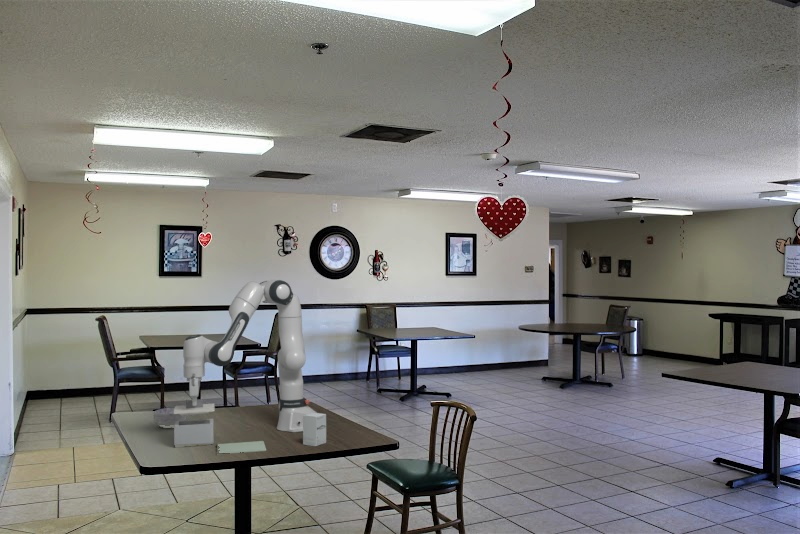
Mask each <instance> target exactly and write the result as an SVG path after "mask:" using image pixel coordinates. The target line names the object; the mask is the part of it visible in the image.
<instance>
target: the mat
mask: <svg viewBox="0 0 800 534" xmlns="http://www.w3.org/2000/svg"><path fill="white" fill-rule="evenodd" d="M217 444H218V446H219V447H220V448H219V449H218V450H220V451H219V453H230V454H240V452H241V454H242V452H244V453H254V452H266V451H267V448H266V445H265V442H264V440H257V441H243V442H229V443H217Z"/></svg>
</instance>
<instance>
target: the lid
mask: <svg viewBox="0 0 800 534" xmlns="http://www.w3.org/2000/svg"><path fill="white" fill-rule="evenodd" d="M174 408H175V409H174V414H180V415H187V416H192V415H206V414H207V415H208V414H210V413H211V412H215V403H204V399H203V398H202V399H201V398H200V399H199V398H198V399H197V405H196V406H193V405H192V399H186V401H185V405H184V404H183V405H175V406H174Z"/></svg>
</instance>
